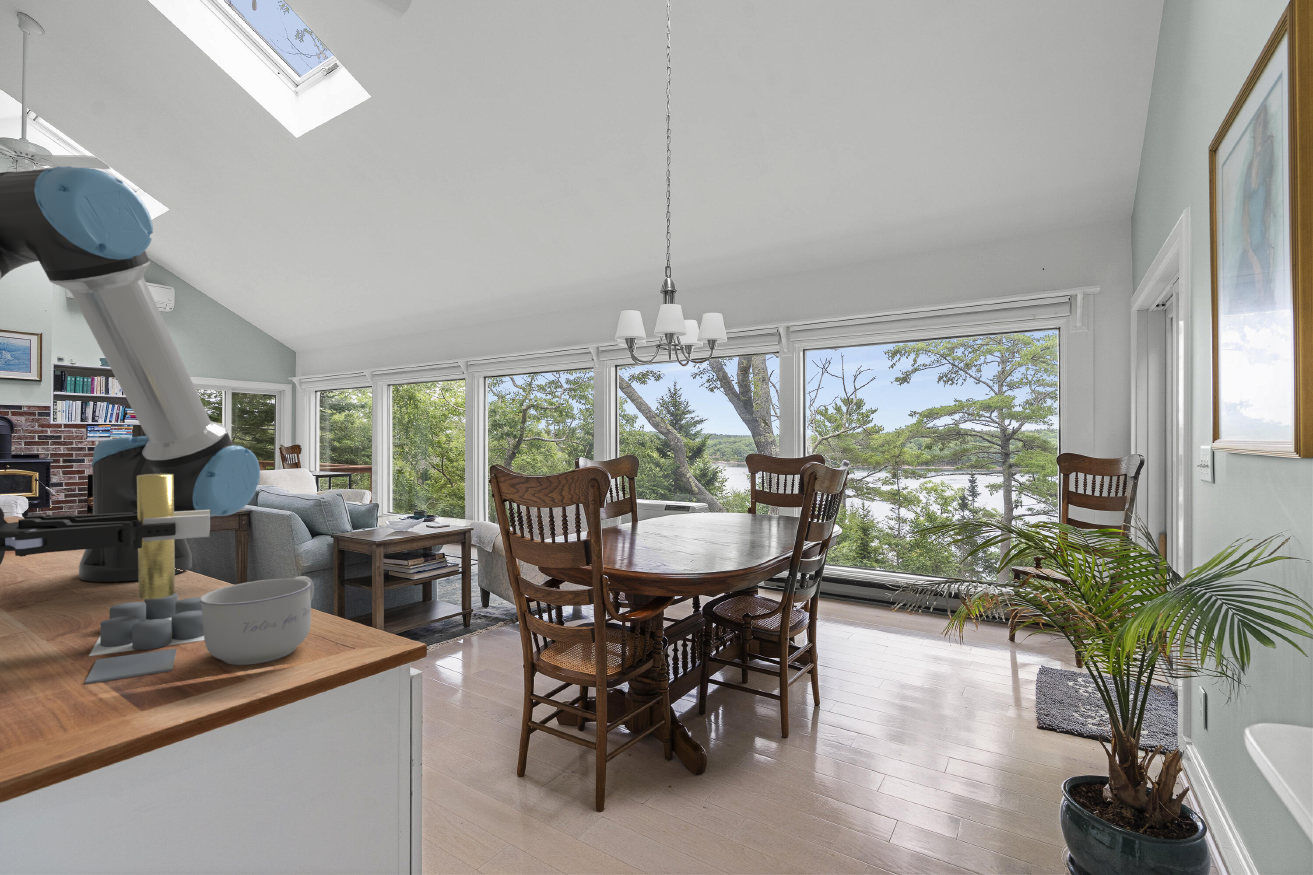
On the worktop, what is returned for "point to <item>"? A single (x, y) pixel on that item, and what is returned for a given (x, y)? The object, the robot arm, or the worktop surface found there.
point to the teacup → (257, 619)
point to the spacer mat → (150, 625)
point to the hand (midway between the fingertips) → (208, 522)
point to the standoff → (160, 554)
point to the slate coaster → (131, 665)
